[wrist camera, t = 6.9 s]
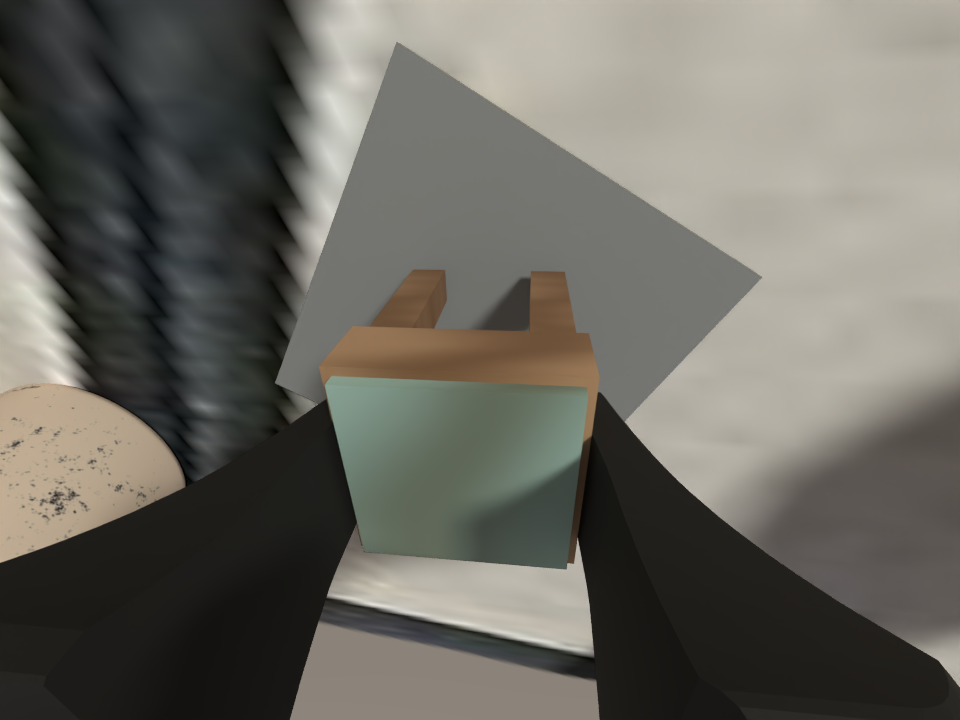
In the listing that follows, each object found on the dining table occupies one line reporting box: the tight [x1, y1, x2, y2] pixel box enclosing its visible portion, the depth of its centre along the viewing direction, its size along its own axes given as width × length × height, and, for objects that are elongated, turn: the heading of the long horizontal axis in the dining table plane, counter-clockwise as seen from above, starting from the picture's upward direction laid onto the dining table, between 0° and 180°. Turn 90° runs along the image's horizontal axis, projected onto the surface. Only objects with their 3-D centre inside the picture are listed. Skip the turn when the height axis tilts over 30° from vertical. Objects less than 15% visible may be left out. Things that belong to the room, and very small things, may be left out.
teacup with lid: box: [0, 384, 186, 563], centre depth 15 cm, size 12×9×12 cm
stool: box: [319, 269, 600, 569], centre depth 11 cm, size 5×5×6 cm
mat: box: [275, 42, 762, 421], centre depth 15 cm, size 12×12×1 cm
